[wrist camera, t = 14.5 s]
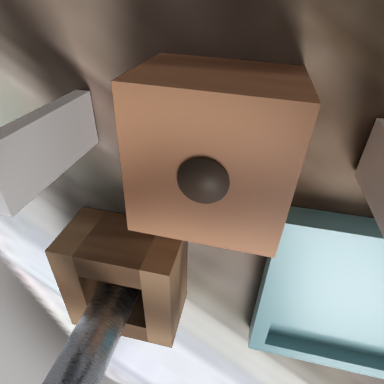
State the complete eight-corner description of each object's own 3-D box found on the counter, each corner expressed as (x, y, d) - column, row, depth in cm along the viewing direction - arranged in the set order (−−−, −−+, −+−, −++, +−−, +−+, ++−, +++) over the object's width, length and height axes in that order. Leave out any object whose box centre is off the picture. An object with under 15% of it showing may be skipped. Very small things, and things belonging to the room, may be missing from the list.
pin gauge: (118, 236, 20) (-51, 510, 9) (154, 243, 19) (19, 537, 9) (122, 262, 21) (-19, 523, 11) (156, 269, 21) (42, 547, 11)
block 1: (83, 207, 19) (44, 251, 16) (187, 224, 18) (169, 276, 15) (100, 277, 23) (72, 323, 20) (186, 295, 22) (171, 347, 19)
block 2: (161, 51, 13) (109, 81, 9) (304, 64, 12) (321, 105, 8) (163, 170, 16) (126, 231, 12) (273, 187, 15) (274, 260, 11)
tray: (279, 204, 16) (280, 222, 14) (545, 243, 14) (572, 268, 12) (249, 328, 22) (248, 347, 21) (422, 366, 20) (432, 390, 19)
